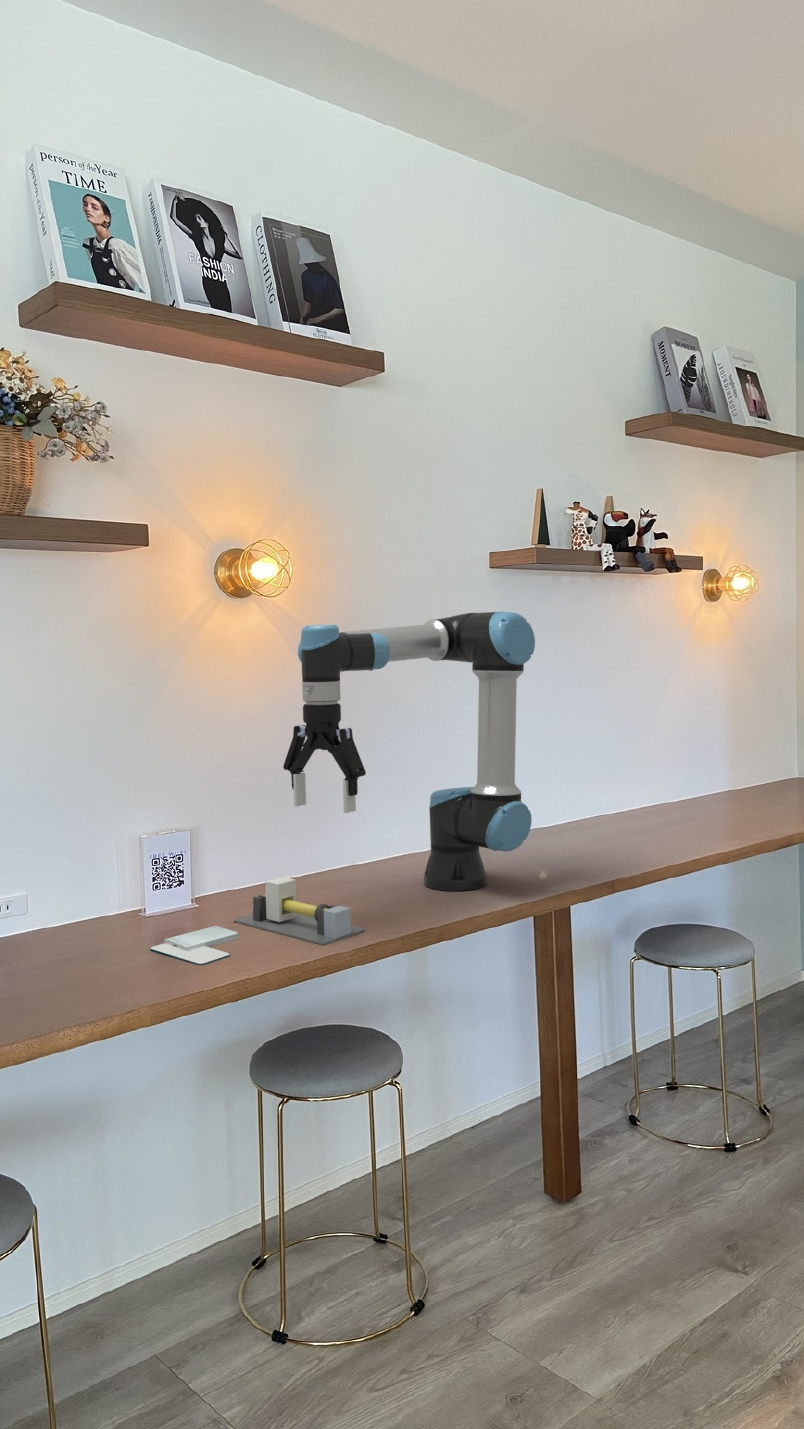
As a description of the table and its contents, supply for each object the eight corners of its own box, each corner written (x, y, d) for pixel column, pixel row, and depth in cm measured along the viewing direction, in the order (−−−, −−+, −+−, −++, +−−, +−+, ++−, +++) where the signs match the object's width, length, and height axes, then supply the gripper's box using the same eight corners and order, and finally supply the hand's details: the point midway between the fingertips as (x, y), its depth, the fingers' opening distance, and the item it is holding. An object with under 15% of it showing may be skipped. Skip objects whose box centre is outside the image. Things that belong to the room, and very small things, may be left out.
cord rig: (233, 921, 226) (232, 894, 225) (275, 909, 235) (275, 883, 234) (323, 945, 208) (322, 916, 208) (364, 931, 217) (364, 903, 217)
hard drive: (215, 924, 220) (163, 938, 211) (238, 932, 214) (186, 946, 205) (215, 932, 220) (163, 946, 211) (239, 940, 214) (186, 954, 205)
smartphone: (232, 958, 203) (179, 942, 213) (232, 953, 203) (179, 938, 213) (200, 969, 197) (147, 952, 207) (200, 964, 197) (147, 948, 207)
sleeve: (266, 918, 224) (265, 881, 223) (284, 913, 228) (282, 876, 227) (279, 922, 221) (278, 884, 221) (296, 916, 225) (295, 879, 224)
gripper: (264, 702, 215) (267, 805, 217) (356, 706, 199) (358, 817, 201) (290, 699, 221) (293, 800, 223) (381, 703, 205) (384, 811, 207)
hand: (324, 808), depth 212 cm, fingers open, 13 cm apart
